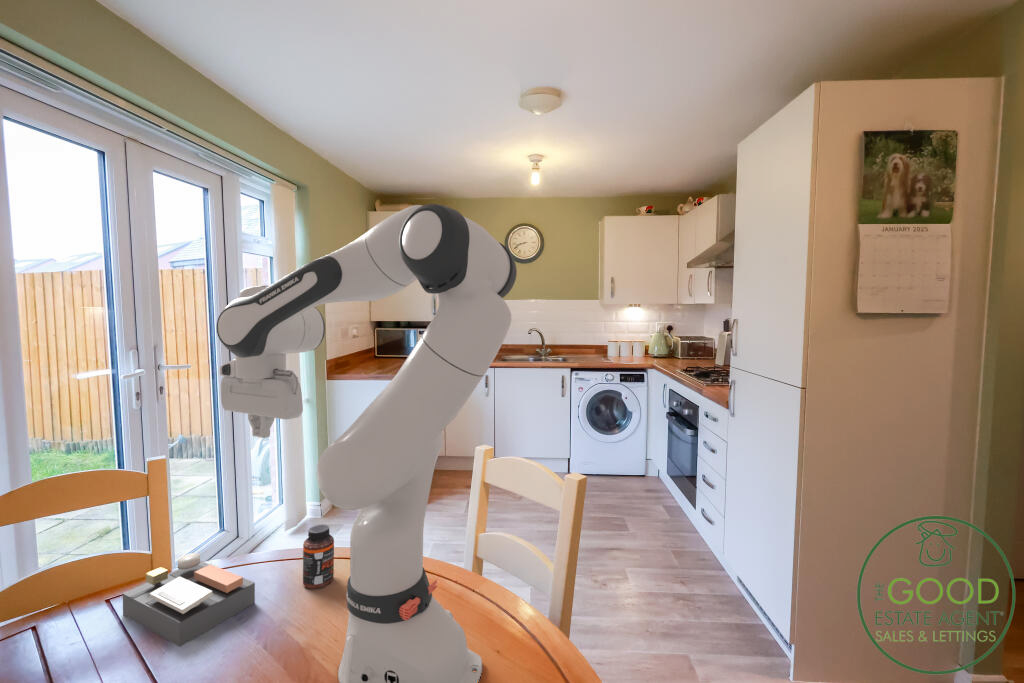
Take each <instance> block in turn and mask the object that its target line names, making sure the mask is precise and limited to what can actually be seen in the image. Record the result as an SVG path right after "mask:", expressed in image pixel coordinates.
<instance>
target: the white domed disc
mask: <svg viewBox="0 0 1024 683" xmlns="http://www.w3.org/2000/svg"><path fill="white" fill-rule="evenodd" d="M200 561H201V554H200V553H198V552H191V553H187V554H184V555H182V556H180V557H179V558H177V570H178V569H182V570H183V569H189V568H193V567H195V566H197V565H198V564H199V563H200Z"/></svg>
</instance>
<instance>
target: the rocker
mask: <svg viewBox="0 0 1024 683" xmlns="http://www.w3.org/2000/svg"><path fill="white" fill-rule="evenodd" d="M212 595H213V593H212V591H211V590H209V589H207V588H204V587H202V586H200V585H198V584H195V583H193V582H191V581H189V580H186V579H184V578H182V577H178V578H176V579H174V580H172V581H171V582H169V583H167V584H165V585H164V586H162V587H160V588H158V589H157V590H155V591H153V592H151V593H150V598H152V599H154V600H156V601H158V602H160V603H162V604H164V605H166V606H168V607H170V608H172V609H174V610H176V611H178V612H180V613H182V614H184V613H186V612H187V611H189V610H190V609H192V608H193V607H195V608H196V607H197V606H199V605H200V603H201V602H203V601H204V600H206V599H207V598H209V597H210V596H212Z"/></svg>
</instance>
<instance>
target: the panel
mask: <svg viewBox="0 0 1024 683" xmlns="http://www.w3.org/2000/svg"><path fill="white" fill-rule="evenodd" d="M208 565H210V563H207V562H205V561H203V560H200V563H199V564H198V565H197V566H195V567H193V568H189V569H183V570H182V569H178V568H177V569H176V570H172V571H171V572H168V579H166V580H163V581H161V584H160V585H158V586H154V585H152V584H150V583H148V582H145V583H143V584H141V585H139V586H136V587H134V588H132V589H130V590H128V591H125V592H123V593H122V616H124V617H126V618H127V619H129V620H131V621H133V622H134V623H136V624H139V625H140V626H141V627H143V628H145V629H147V630H149V631H151V632H152V633H154V634H157V635H158V636H160V637H162V638H164V640H165V639H166V640H167V641H169V642H171V643H172V644H174V645H175V646H178V647H182V646H184V645H185V644H186V643H188V642H190V641H192V640H194V639H196V638H197V637H199V636H200V635H203V634H204V633H206V632H207V631H210V630H211V629H212V628H215V627H216V626H218V625H220V624H221V623H224V622H225V621H226V620H228V619H230V618H232V617H233V616H235V615H237V614H239V613H240V612H242V611H244V610H246V609H247V608H249V607H251V606H252V605H254V604H255V603H256V600H255V599H256V592H255V591H256V589H255V588H256V583H255V582H254V581H252V580H250V579H247V578H244V577H243V585H241V586H239V587H237V588H235V589H234V590H232V591H230V592H228V593H225V592H223V591H221V590H218V589H216V588H214V587H211V586H209V585H207V584H205V583H202V582H200V581H198V580H195V579H194V572H195V571H197V570H199V569H202V568H204V567H206V566H208ZM178 577H182V578H184V579H186V580H189V581H191V582H193V583H195V584H198V585H200V586H202V587H204V588H207V589H209V590H211V591H212V593H213V595H212V596H210V597H209V598H207V599H206V600H204V601H203V602H201V603H200V605H199V606H197V607H196V608H195V607H193V608H192V609H190V610H189V611H187V612H186V613H184V614H182V613H180V612H178V611H176V610H174V609H172V608H170V607H168V606H166V605H164V604H162V603H160V602H158V601H156V600H154V599H152V598H150V593H151V592H153V591H155V590H157V589H158V588H160V587H162V586H164V585H165V584H167V583H169V582H171V581H172V580H174V579H176V578H178Z"/></svg>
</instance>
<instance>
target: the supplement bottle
mask: <svg viewBox="0 0 1024 683" xmlns="http://www.w3.org/2000/svg"><path fill="white" fill-rule="evenodd" d="M307 534H308V535H307V536H308V537H307V538H306V539H305V540H304V541H303V545H302V546H303V547H302V549H303V550H302V585H303V586H304V587H305V588H307V589H313V590H314V589H320V588H321V589H322V588H324V587H326V586H327V585H329V584H331V583H332V582H333V579H334V574H335V573H334V568H335V565H334V564H335V563H334V562H335V561H334V560H335V556H334V555H335V539H334V537H333V536H332V535H331V534H330V526H329V525H327V524H316V525H313V526H311V527H310V528H309V529H308V533H307Z"/></svg>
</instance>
